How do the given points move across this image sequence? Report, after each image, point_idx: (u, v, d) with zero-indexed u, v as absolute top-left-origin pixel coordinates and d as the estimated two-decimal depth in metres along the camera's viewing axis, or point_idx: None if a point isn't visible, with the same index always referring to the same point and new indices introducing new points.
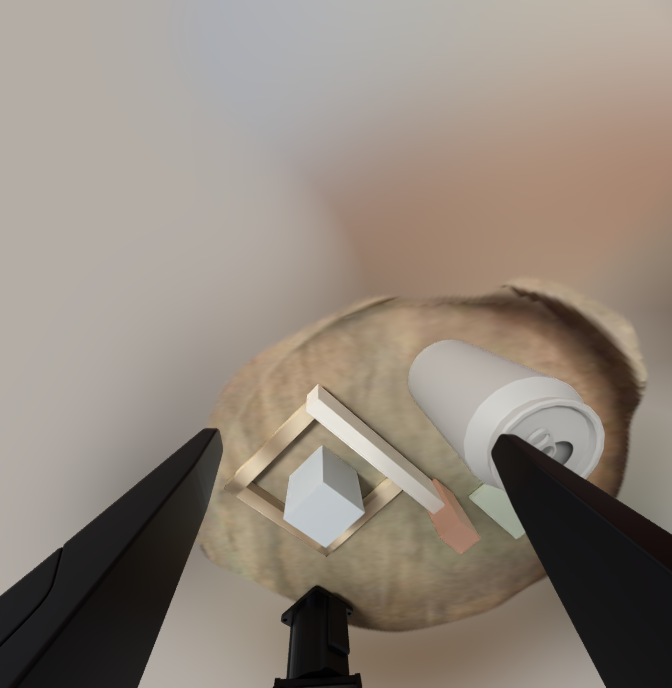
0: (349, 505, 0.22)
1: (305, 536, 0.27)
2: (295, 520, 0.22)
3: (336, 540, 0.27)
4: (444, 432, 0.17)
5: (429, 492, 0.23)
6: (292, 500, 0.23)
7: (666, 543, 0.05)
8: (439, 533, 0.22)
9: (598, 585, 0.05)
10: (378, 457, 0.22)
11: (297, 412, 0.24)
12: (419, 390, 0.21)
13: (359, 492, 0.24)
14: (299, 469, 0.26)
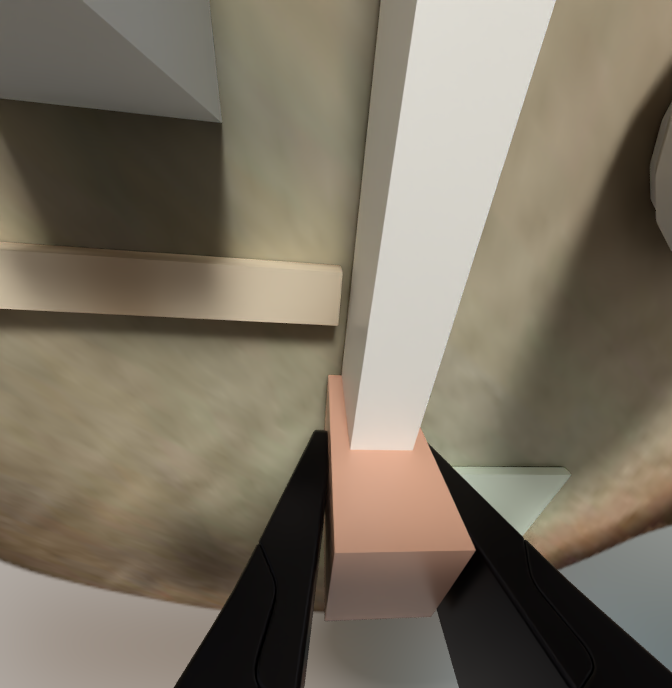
0: None
1: None
2: None
3: None
4: None
5: (433, 370, 0.05)
6: None
7: (511, 546, 0.05)
8: (341, 528, 0.04)
9: (456, 590, 0.05)
10: None
11: None
12: None
13: (140, 31, 0.03)
14: None
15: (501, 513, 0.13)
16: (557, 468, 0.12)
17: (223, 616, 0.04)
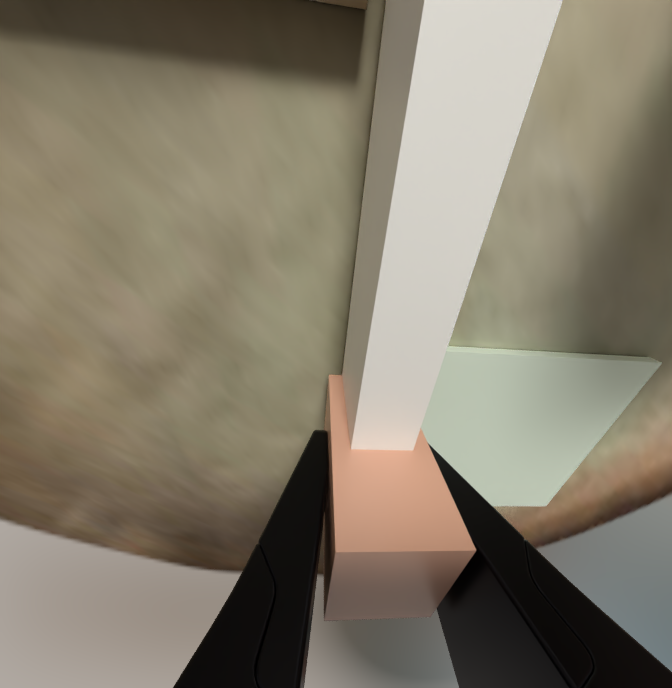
0: None
1: None
2: None
3: None
4: None
5: (434, 370, 0.05)
6: None
7: (511, 546, 0.05)
8: (342, 528, 0.04)
9: (456, 590, 0.05)
10: None
11: None
12: None
13: None
14: None
15: (560, 426, 0.10)
16: (641, 357, 0.10)
17: (223, 616, 0.04)
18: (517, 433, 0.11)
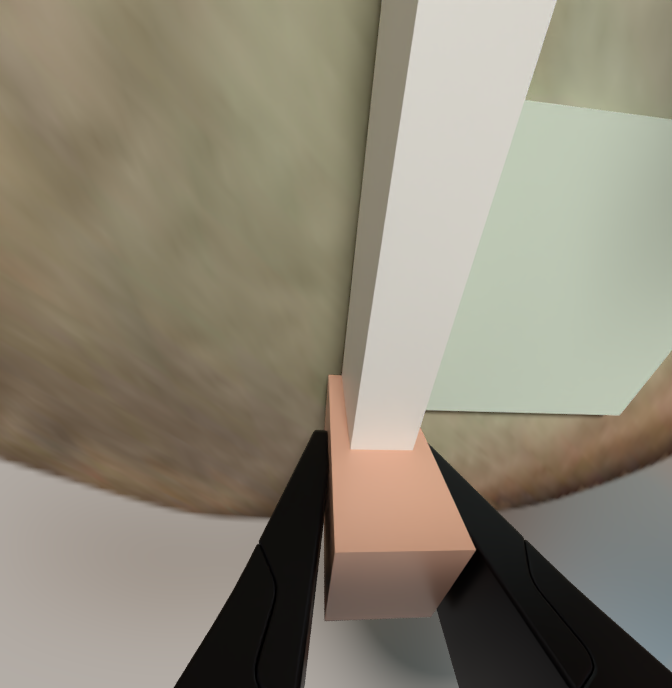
0: None
1: None
2: None
3: None
4: None
5: (433, 370, 0.05)
6: None
7: (511, 546, 0.05)
8: (341, 528, 0.04)
9: (456, 590, 0.05)
10: None
11: None
12: None
13: None
14: None
15: (666, 269, 0.07)
16: None
17: (223, 616, 0.04)
18: (605, 281, 0.08)
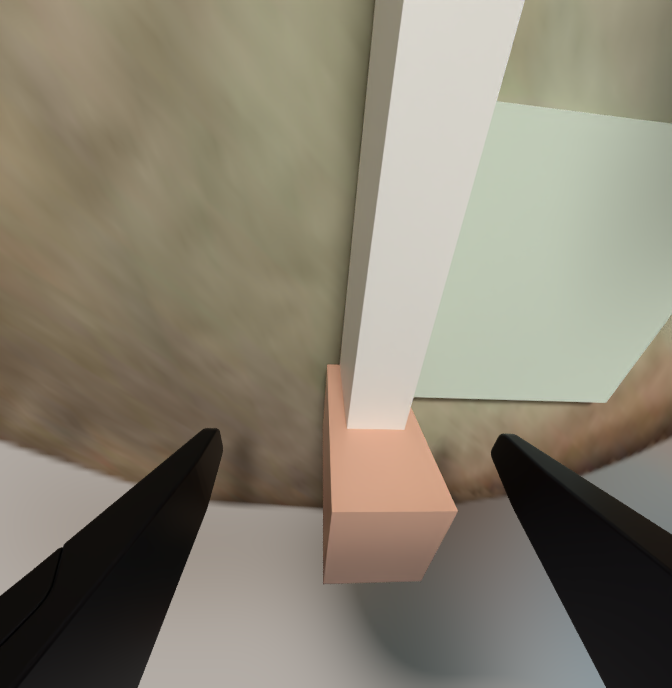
0: None
1: None
2: None
3: None
4: None
5: (421, 353, 0.05)
6: None
7: (666, 543, 0.05)
8: (338, 493, 0.05)
9: (598, 585, 0.05)
10: None
11: None
12: None
13: None
14: None
15: (645, 260, 0.08)
16: None
17: None
18: (587, 273, 0.08)
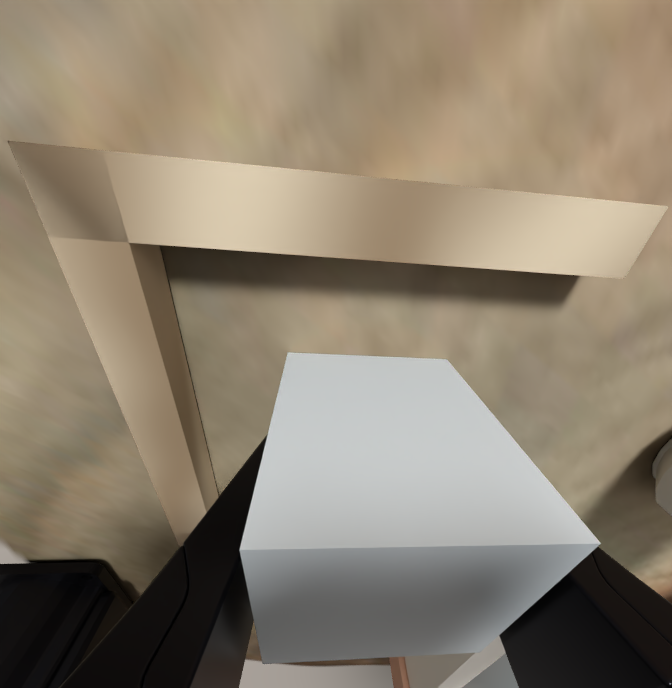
0: (490, 629, 0.05)
1: (178, 500, 0.09)
2: (285, 579, 0.04)
3: None
4: None
5: None
6: (318, 465, 0.04)
7: None
8: None
9: None
10: (470, 672, 0.12)
11: None
12: None
13: None
14: (343, 364, 0.07)
15: None
16: None
17: (125, 620, 0.03)
18: None
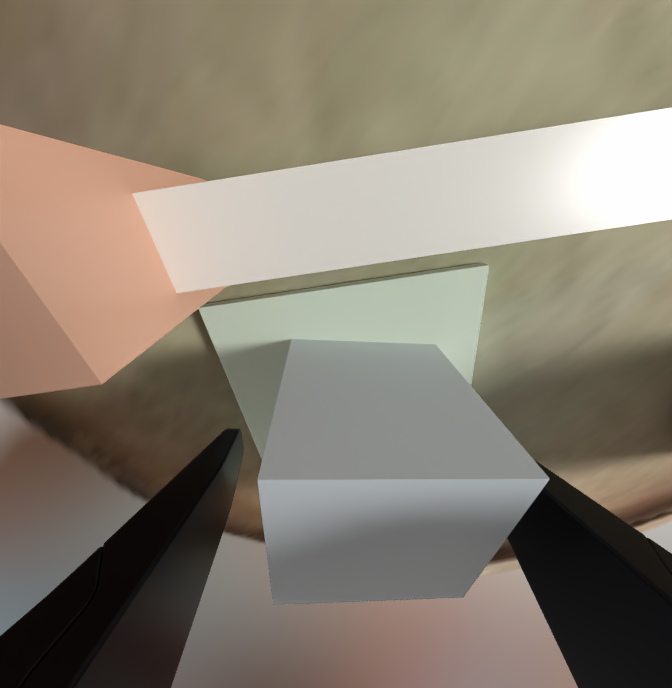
0: (469, 569, 0.06)
1: None
2: (293, 511, 0.04)
3: None
4: None
5: (305, 268, 0.04)
6: (319, 423, 0.05)
7: (637, 544, 0.05)
8: None
9: (571, 586, 0.05)
10: None
11: None
12: None
13: None
14: (341, 348, 0.08)
15: None
16: None
17: (21, 624, 0.03)
18: None
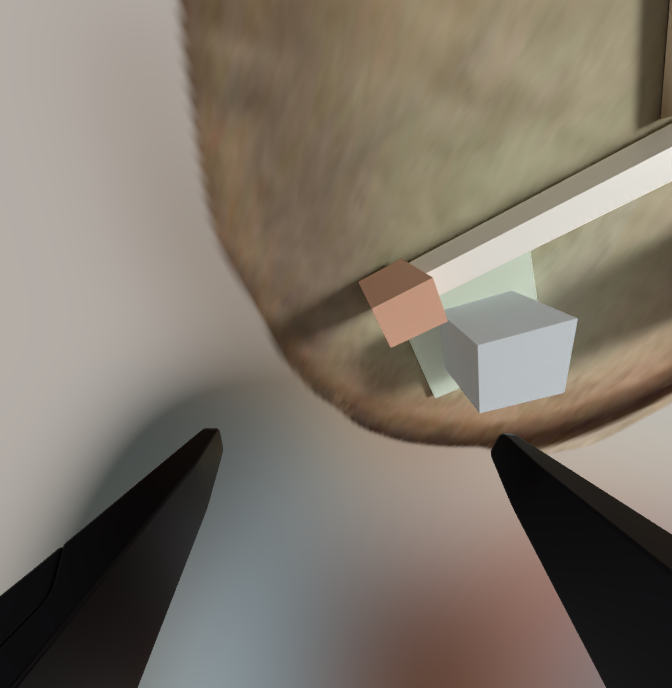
0: (561, 373, 0.14)
1: None
2: (488, 356, 0.13)
3: None
4: None
5: (469, 278, 0.13)
6: (483, 330, 0.14)
7: (666, 543, 0.05)
8: None
9: (598, 585, 0.05)
10: (599, 203, 0.12)
11: None
12: None
13: None
14: (466, 307, 0.17)
15: None
16: None
17: None
18: None
